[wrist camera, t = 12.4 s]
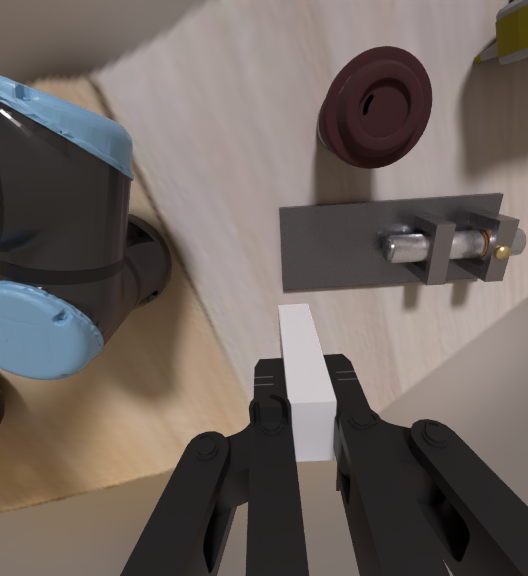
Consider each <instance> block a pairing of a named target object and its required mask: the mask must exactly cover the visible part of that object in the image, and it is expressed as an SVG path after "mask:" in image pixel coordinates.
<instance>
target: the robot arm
mask: <svg viewBox="0 0 528 576" xmlns="http://www.w3.org/2000/svg"><path fill="white" fill-rule="evenodd" d="M132 150H133V145H132V140H131V137H130V135H129V134H128V132H127V131H126V130H125V128H124V127H123V126H121V125H120V124H118V123H117V122H115V121H113V120H111V119H108V118H106V117H104V116H102V115H99V114H97V113H95V112H92V111H90V110H87V109H85V108H82V107H80V106H78V105H75V104H72V103H70V102H67V101H65V100H62V99H60V98H57V97H55V96H52V95H50V94H47V93H44V92H42V91H39V90H36V89H32V88H30V87H28V86H26V85H23V84H20V83H17V82H14V81H12V80H10V79H8V78H5V77H3V76H0V368H1V369H3V370H5V371H7V372H10V373H12V374H15V375H18V376H22V377H26V378H31V379H38V380H55V379H61V378H65V377H68V376H70V375H73V374H74V373H77V372H79V371H80V370H82V369H83V368H84V367H85V366H86V365H87V364H88V363H89V362H90V361H92V360H93V359H94V358H95V357H96V356H97V355H98V354H99V353H100V352H101V350H102V348H103V346H104V345H105V344H106V343H107V341H108V340H109V339H110V337H111V336H112V335H113V334H114V332H115V331H116V330H117V329H118V327H119V326H120V325H121V323H122V322H123V321H124V320H125V318H126V317H127V316H128V315H129V313H130V312H131V311H132V310H133V309H136V308H138V307H141V306H143V305H145V304H147V303H149V302H151V301H152V300H154V299H155V298H156V297H157V296H158V295H159V294H160V293H161V292H162V290H163V289H164V287H165V286H166V284H167V282H168V280H169V278H170V274H171V257H170V253H169V250H168V247H167V245H166V243H165V241H164V240H163V238H162V237H161V236H160V234H159V233H158V232H157V231H156V230H155V229H154V228H153V227H152V226H151V225H149V224H148V223H147V222H145V221H144V220H142V219H140V218H138V217H136V216H134V215H131V214H128V212H129V200H130V187H131V181H133V180H134V175H133V174H132ZM278 311H279V331H280V350H281V358H275V359H260V360H259V361H258V363H257V365H256V366H255V374H254V399H253V400H252V401H251V402H250V406H249V414H250V424H249V425H248V426H247V427H246V428H245V429H244V430H242V431H241V432H239V433H237V434H234V435H231V436H228V437H226V438H225V437H224V436H223V435H222V434H221V433H218V432H215V431H212V432H204V433H201V434H199V435H197V436H196V437H195V438H193V439H192V440H191V441H190V443H189V444H188V445H187V447H186V449H185V451H184V453H183V455H182V457H181V458H180V460H179V462H178V464H177V466H176V468H175V470H174V472H173V474H172V476H171V478H170V480H169V482H168V484H167V486H166V488H165V490H164V492H163V493H162V496H161V497H160V499H159V501H158V503H157V505H156V507H155V509H154V511H153V513H152V515H151V517H150V519H149V521H148V523H147V525H146V526H145V528H144V531H143V532H142V534H141V536H140V538H139V540H138V542H137V544H136V546H135V548H134V550H133V552H132V554H131V556H130V557H129V559H128V561H127V563H126V565H125V567H124V569H123V571H122V573H121V575H120V576H217V573H218V569H219V566H220V563H221V559H222V556H223V552H224V549H225V546H226V542H227V538H228V535H229V532H230V528H231V525H232V521H233V518H234V514H235V511H236V508H237V506H239V505H242V504H243V503H246V502H248V526H247V555H246V576H309V570H308V561H307V553H306V544H305V535H304V526H303V517H302V509H301V501H300V491H299V482H298V474H297V465H296V462H302V461H303V462H305V461H325V460H334V452H335V456H336V460H337V480H336V491H341V495H342V499H343V504H344V508H345V513H346V517H347V521H348V526H349V530H350V535H351V539H352V543H353V547H354V552H355V557H356V561H357V565H358V570H359V574H360V576H450V575H449V572H448V570H447V568H446V566H445V563H446V565H447V566H448V568H449V569H450V571H451V572H452V574H453V575H454V576H528V506H527V505H526V504H525V503H524V502H523V501H521V499H520V498H518V496H517V495H516V494H515V493H514V492H513V491H512V490H511V489H510V488H509V487H508V486H507V485H506V484H505V483H504V482H503V481H502V480H501V479H500V478H499V477H498V476H497V475H496V474H495V473H494V472H493V471H492V470H491V469H490V468H489V467H488V466H487V465H486V464H485V463H484V462H483V461H482V460H481V459H480V458H479V457H478V456H477V454H475V453H474V451H473V450H472V449H470V447H469V446H468V445H467V444H466V443H465V442H464V441H463V440H462V439H461V438H460V437H459V436H458V435H457V434H456V433H455V432H454V431H453V430H451V429H450V428H449V427H447V426H446V425H444V424H442V423H440V422H438V421H434V420H429V419H424V420H419V421H417V422H415V423H414V424H413V425H412V427H411V428H407V427H402V426H397V425H394V424H390V423H387V422H385V421H384V420H382V419H380V417H379V415H378V414H377V413H375V412H374V411H373V410H371V408H370V407H369V404H368V402H367V399H366V397H365V395H364V392H363V390H362V387H361V385H360V383H359V380H358V379H357V375H356V373H355V372H354V368H353V366H352V363H351V361H350V360H349V359H347V358H346V357H345V356H344V355H343V354H332V355H323V353H322V350H321V347H320V343H319V340H318V337H317V333H316V330H315V326H314V323H313V320H312V316H311V313H310V310H309V306H308V304H293V305H278ZM442 558H443V559H442ZM443 560H444V561H443ZM444 562H445V563H444Z"/></svg>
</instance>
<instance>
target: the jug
mask: <svg viewBox="0 0 528 576" xmlns="http://www.w3.org/2000/svg"><path fill="white" fill-rule="evenodd" d="M3 416H4V396H3V393H2V392H1V390H0V423H1V421H2V419H3Z"/></svg>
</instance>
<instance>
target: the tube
mask: <svg viewBox="0 0 528 576" xmlns="http://www.w3.org/2000/svg"><path fill="white" fill-rule="evenodd" d="M491 234H492V230H489V229H479V230H469V231H455V233H454V238H453V243H452V248H451V253H450V258H449V259H465V258H485V257H486V254H487V250H488V246H489V242H490V238H491ZM430 240H431V234H430V233H422V234H407V235H391V236H388V237H387V239H385V240H384V242H383V246H382V253H383V257H384V259H385V260H386V261H388V262H389V263H400V262H416V261H427V258H428V252H429V246H430ZM525 245H526V236H525V233H524V232H523V230H521V229H520V228H517V231H516V234H515V238H514V241H513V245H512V248H511V254H510V256H513V255H518V254H520V253H521V252H522V251H523V250H524V248H525Z"/></svg>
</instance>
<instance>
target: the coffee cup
mask: <svg viewBox="0 0 528 576" xmlns="http://www.w3.org/2000/svg"><path fill="white" fill-rule="evenodd" d="M431 107H432V89H431V83H430V79H429V77H428V75H427V72H426V70H425V68H424V67H423V65H422V64H421V63H420V61H419V60H418V59H417V58H416V57H415V56H413V55H412V54H411V53H409V52H407V51H406V50H403V49H400V48H397V47H391V46H384V47H376V48H373V49H369V50H367V51H365V52H363V53H361V54H359V55H358V56H356V57H355V58H353V59H352V60H351V61H350V62H349V63H348V64H347V65H346V66H345V67H344V68H343V69H342V70H341V71H340V72H339V73H338V75H337V76H336V78H335V79H334V81H333V82H332V84H331V86H330V88H329V90H328V93H327V96H326V98H325V100H324V102H323V104H322V106H321V109H320V111H319V114H318V119H317V130H318V135H319V137H320V139H321V141H322V143H323V144H324V145H325V146H326V147H327V148H328V149H329V150H330V151H332V152H333V153H335V154H336V155H337V156H338V157H339V158H340V159H342V160H343V161H345V162H346V163H348V164H350V165H353V166H356V167H361V168H369V169H370V168H380V167H384V166H387V165H390V164H392V163H394V162H396V161H398V160H399V159H401V158H402V157H403V156H405V155H406V154H407V153H408V152H409V151H410V150H411V149H412V148H413V147H414V146H415V145H416V143H417V142H418V140H419V139H420V137H421V136H422V134H423V132H424V130H425V128H426V126H427V123H428V120H429V117H430V113H431Z"/></svg>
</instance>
